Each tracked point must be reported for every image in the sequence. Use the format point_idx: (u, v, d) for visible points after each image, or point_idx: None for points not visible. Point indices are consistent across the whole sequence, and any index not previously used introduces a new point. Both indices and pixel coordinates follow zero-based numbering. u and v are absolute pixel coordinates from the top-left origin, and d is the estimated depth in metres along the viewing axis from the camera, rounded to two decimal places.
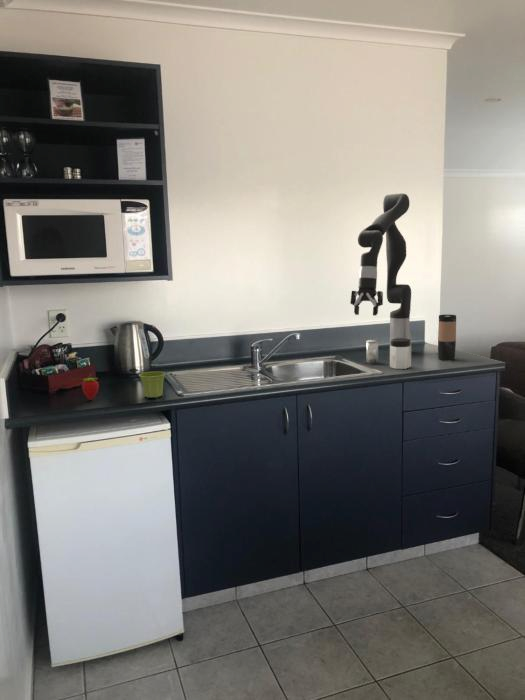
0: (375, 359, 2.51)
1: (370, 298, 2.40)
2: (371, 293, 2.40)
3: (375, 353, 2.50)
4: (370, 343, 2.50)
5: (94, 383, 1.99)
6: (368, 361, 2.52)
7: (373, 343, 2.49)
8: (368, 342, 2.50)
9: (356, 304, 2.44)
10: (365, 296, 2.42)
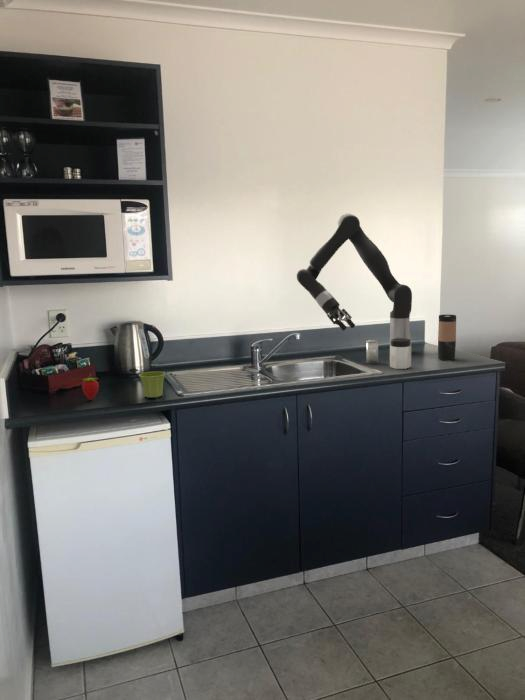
0: (375, 359, 2.51)
1: None
2: None
3: (375, 353, 2.50)
4: (370, 343, 2.50)
5: (94, 383, 1.99)
6: (368, 361, 2.52)
7: (373, 343, 2.49)
8: (368, 342, 2.50)
9: (345, 321, 2.63)
10: None
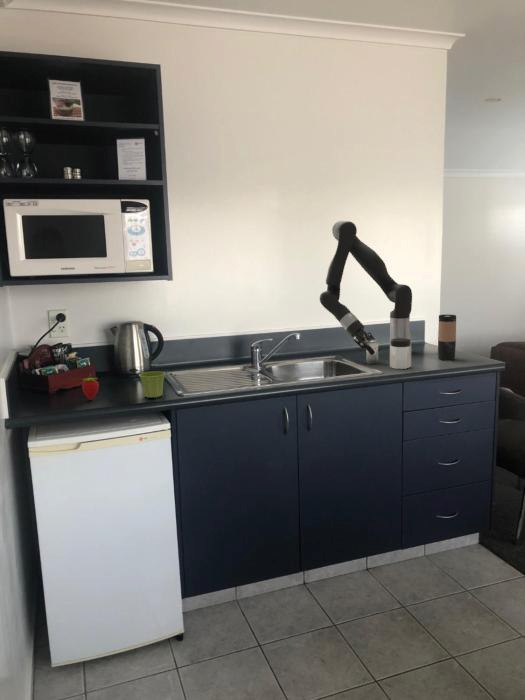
0: (375, 359, 2.51)
1: None
2: None
3: (375, 353, 2.50)
4: (370, 343, 2.50)
5: (94, 383, 1.99)
6: (368, 361, 2.52)
7: (373, 343, 2.49)
8: (368, 342, 2.50)
9: None
10: None
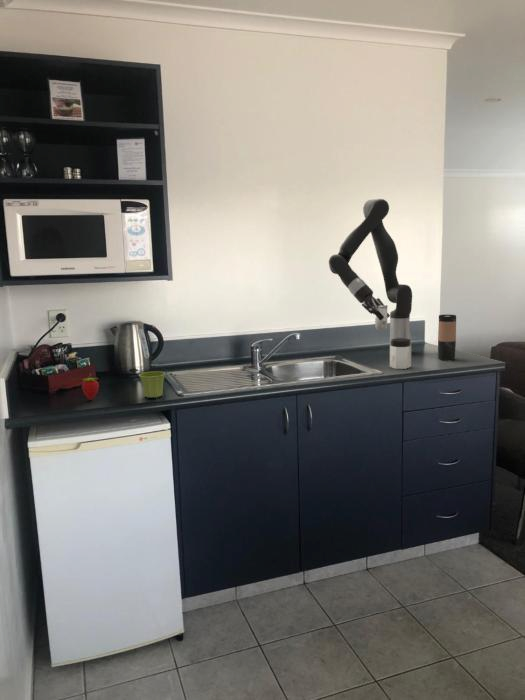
0: (384, 325, 2.44)
1: None
2: None
3: (384, 318, 2.44)
4: (379, 308, 2.43)
5: (94, 383, 1.99)
6: (377, 327, 2.45)
7: (382, 308, 2.43)
8: (377, 307, 2.44)
9: None
10: None
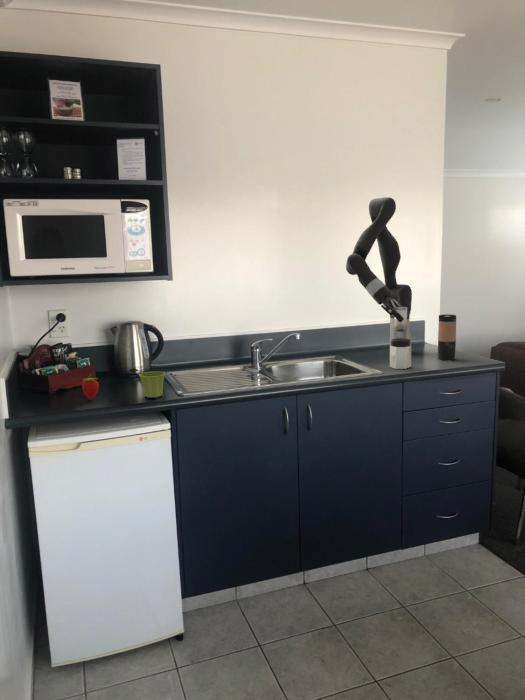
0: (404, 327, 2.36)
1: None
2: None
3: (404, 320, 2.36)
4: (399, 310, 2.35)
5: (94, 383, 1.99)
6: (396, 329, 2.37)
7: (402, 310, 2.35)
8: (397, 309, 2.36)
9: None
10: None
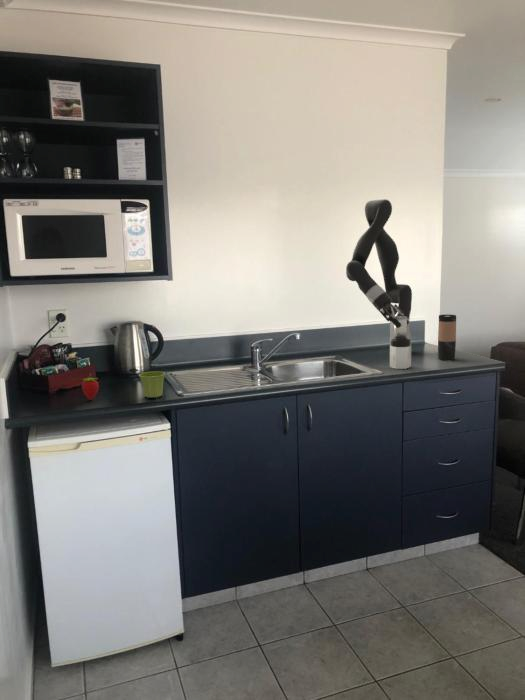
0: (404, 337, 2.37)
1: None
2: None
3: (404, 330, 2.37)
4: (399, 319, 2.36)
5: (94, 383, 1.99)
6: (396, 338, 2.38)
7: (402, 319, 2.36)
8: (396, 318, 2.37)
9: None
10: None
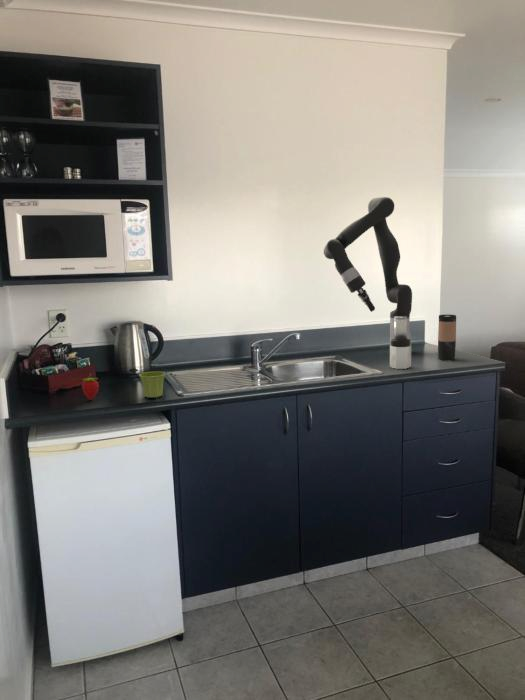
0: (404, 337, 2.37)
1: None
2: (359, 293, 2.46)
3: (404, 330, 2.37)
4: (399, 319, 2.36)
5: (94, 383, 1.99)
6: (396, 338, 2.38)
7: (402, 319, 2.36)
8: (396, 318, 2.37)
9: (365, 304, 2.52)
10: None
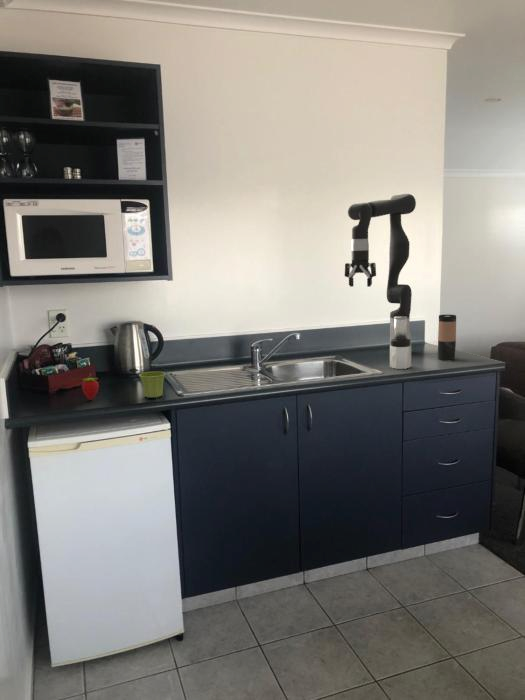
0: (404, 337, 2.37)
1: (363, 270, 2.47)
2: (364, 265, 2.47)
3: (404, 330, 2.37)
4: (399, 319, 2.36)
5: (94, 383, 1.99)
6: (396, 338, 2.38)
7: (402, 319, 2.36)
8: (396, 318, 2.37)
9: (350, 276, 2.52)
10: (358, 268, 2.49)
